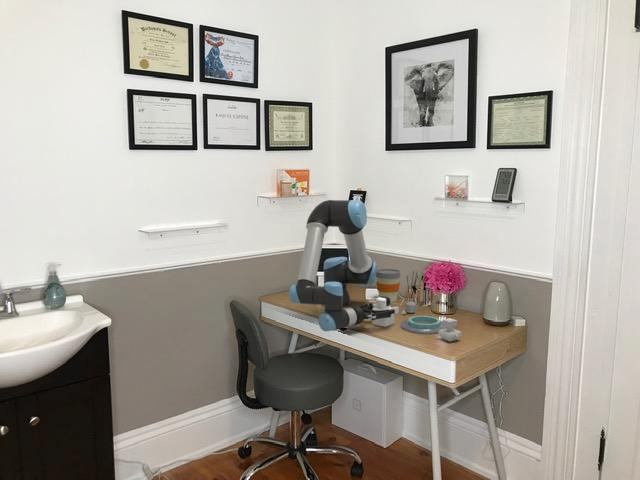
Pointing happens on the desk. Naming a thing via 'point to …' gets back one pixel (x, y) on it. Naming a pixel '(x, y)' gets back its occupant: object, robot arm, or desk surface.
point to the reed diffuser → (410, 300)
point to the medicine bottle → (383, 304)
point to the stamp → (449, 330)
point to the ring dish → (420, 331)
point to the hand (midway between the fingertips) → (390, 307)
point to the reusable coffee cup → (388, 283)
